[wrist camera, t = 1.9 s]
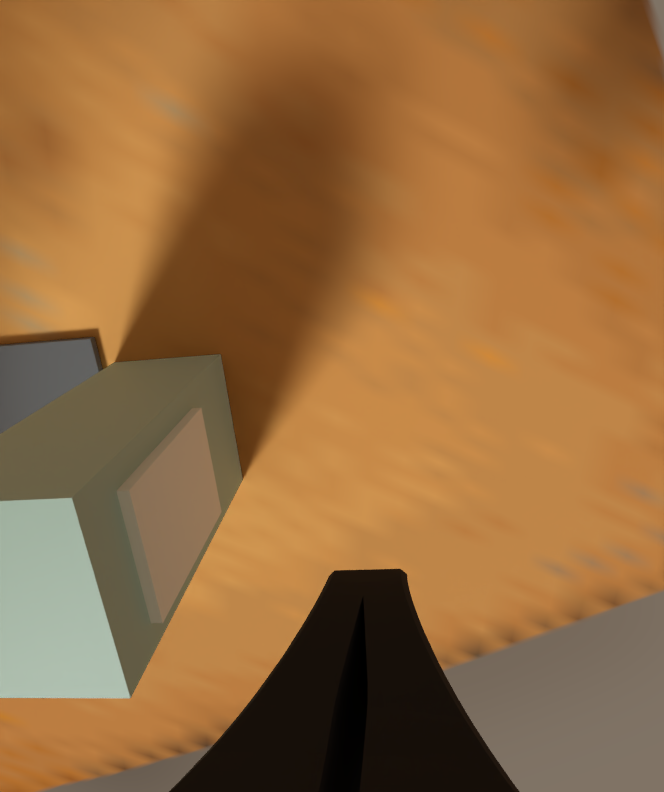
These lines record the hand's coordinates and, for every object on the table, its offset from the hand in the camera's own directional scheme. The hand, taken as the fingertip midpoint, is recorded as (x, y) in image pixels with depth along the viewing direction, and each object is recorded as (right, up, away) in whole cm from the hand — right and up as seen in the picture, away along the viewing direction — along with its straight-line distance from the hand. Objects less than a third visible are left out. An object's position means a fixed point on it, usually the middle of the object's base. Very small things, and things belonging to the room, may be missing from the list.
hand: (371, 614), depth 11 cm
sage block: (-6, +3, +11) cm, 13 cm away
